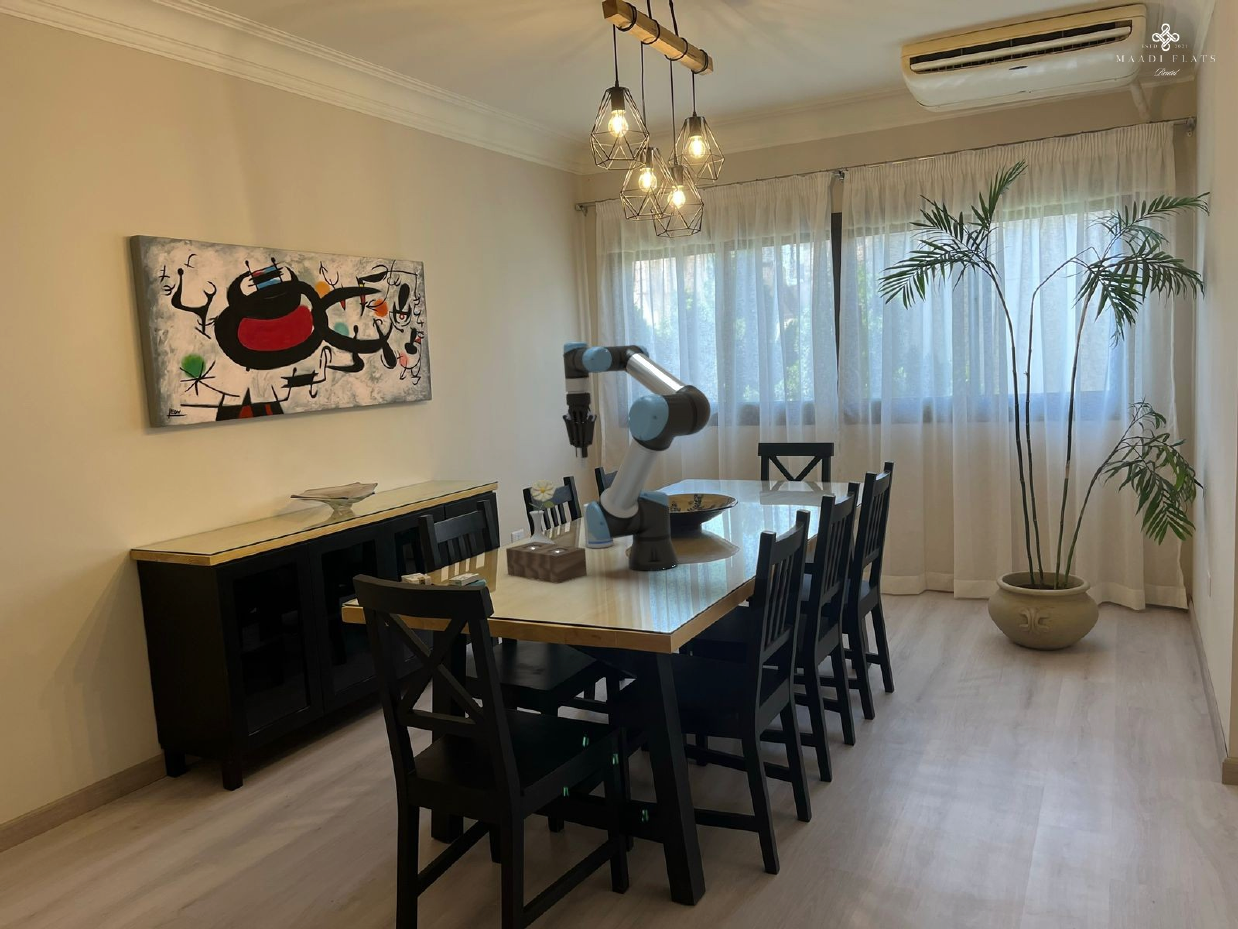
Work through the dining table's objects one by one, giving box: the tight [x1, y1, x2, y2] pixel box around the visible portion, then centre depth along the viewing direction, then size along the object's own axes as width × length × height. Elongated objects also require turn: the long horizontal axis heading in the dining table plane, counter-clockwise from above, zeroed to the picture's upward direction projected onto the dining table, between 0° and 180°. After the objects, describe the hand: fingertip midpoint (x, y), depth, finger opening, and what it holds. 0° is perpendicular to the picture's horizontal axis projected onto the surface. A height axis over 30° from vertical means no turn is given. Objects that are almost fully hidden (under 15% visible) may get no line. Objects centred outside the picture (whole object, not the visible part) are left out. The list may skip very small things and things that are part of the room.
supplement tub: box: [582, 502, 614, 549], centre depth 314 cm, size 10×10×15 cm
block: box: [505, 542, 588, 584], centre depth 276 cm, size 22×12×8 cm, turn 48°
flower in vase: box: [524, 479, 556, 544], centre depth 308 cm, size 13×11×25 cm
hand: (582, 468), depth 285 cm, fingers closed
